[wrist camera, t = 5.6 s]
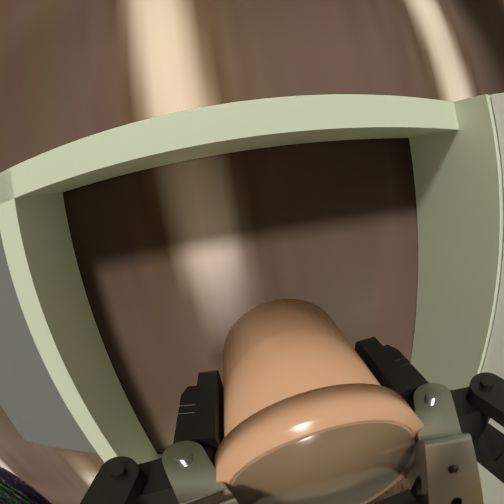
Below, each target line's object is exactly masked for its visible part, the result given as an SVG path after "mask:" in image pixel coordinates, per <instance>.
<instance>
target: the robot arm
mask: <svg viewBox="0 0 504 504" xmlns="http://www.w3.org/2000/svg"><path fill="white" fill-rule="evenodd" d="M355 351H356V352H357V353H358V355H359V356H360V357H361V359H362V360H363V361H364V363H365V364H366V366H367V367H368V368H369V370H370V371H371V372H372V374H373V375H374V377H375V378H376V379H377V381H378V382H379V384H380V385H381V386H384V387H387V388H389V389H392V390H394V391H395V392H397V393H398V394H400V395H401V396H402V397H403V398H404V399H405V401H406V402H407V403H408V405H409V406H410V407H411V409H412V410H413V411H414V412H415V414H416V415H417V416H418V418H419V419H420V420H421V422H422V423H423V425H424V427H423V428H421V429H418V431H417V434H416V437H415V457H414V461H413V464H412V465H410V466H408V467H406V468H405V469H404V471H403V473H402V484H401V490H400V493H398V494H396V495H393V496H391V497H389V498H386V499H384V500H381V501H378V502H377V503H375V504H484V502H483V495H482V488H481V481H480V476H479V470H478V465H477V462H478V463H479V464H481V465H482V466H483V467H484V468H485V469H487V470H488V471H489V472H490V473H492V474H493V475H494V476H495V477H496V478H498V479H499V480H500V481H501V482H502V483H504V434H503V433H502V432H500V431H499V430H497V429H496V428H495V427H493V426H492V425H490V424H489V423H488V422H489V420H490V418H491V419H493V420H494V421H495V422H497V423H498V424H500V425H501V426H503V427H504V379H502V378H500V377H499V376H497V375H495V374H493V373H488V372H483V373H479V374H477V375H475V376H474V377H473V378H472V379H471V381H470V384H469V387H465V388H460V389H456V390H449V389H448V388H447V387H446V386H444V385H442V384H439V383H429V382H428V381H427V380H426V379H425V378H424V377H423V376H422V375H421V374H420V373H419V372H418V370H417V369H416V368H415V367H414V366H413V365H412V364H410V362H409V361H408V360H407V359H406V358H405V357H404V355H403V354H402V353H401V352H400V351H399V350H398V349H396V348H393V347H391V346H389V345H386V346H382V345H381V344H380V343H379V341H378V340H377V339H376V338H375V337H372V338H368V339H365V340H361V341H358V342H356V344H355ZM178 413H179V415H178V418H177V424H176V430H175V436H174V443H173V444H172V445H170V446H169V447H167V448H166V450H165V451H164V452H163V454H162V457H161V458H159V459H156V460H153V461H149V462H145V463H141V464H137V463H136V462H135V461H134V460H133V459H131V458H129V457H125V456H119V457H114V458H111V459H109V460H108V461H106V462H105V463H104V464H103V465H102V467H101V468H100V470H99V472H98V474H97V475H96V477H95V479H94V480H93V482H92V484H91V486H90V487H89V489H88V491H87V493H86V494H85V496H84V498H83V499H82V501H81V503H80V504H239V503H238V502H237V500H236V499H235V497H234V496H233V494H232V493H231V492H230V491H229V490H228V488H227V487H226V485H225V484H224V482H223V481H219V482H216V469H215V467H214V458H215V454H216V451H217V449H218V446H219V445H220V443H221V442H222V440H223V439H224V388H223V385H222V381H221V378H220V374H219V372H218V370H217V371H209V372H202V373H199V375H198V383H197V386H189V387H187V388H186V390H185V391H184V393H183V394H182V395H181V400H180V407H179V412H178Z"/></svg>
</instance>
